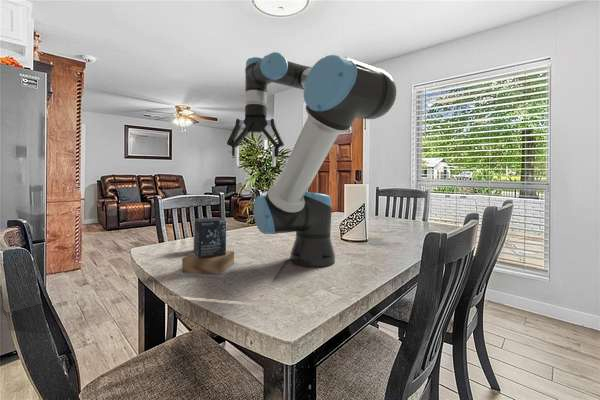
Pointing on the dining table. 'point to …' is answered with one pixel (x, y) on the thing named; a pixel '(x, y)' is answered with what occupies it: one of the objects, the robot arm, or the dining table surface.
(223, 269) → the base slab
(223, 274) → the board
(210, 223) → the box
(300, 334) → the dining table surface
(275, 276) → the dining table surface
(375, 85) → the robot arm
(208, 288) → the dining table surface
